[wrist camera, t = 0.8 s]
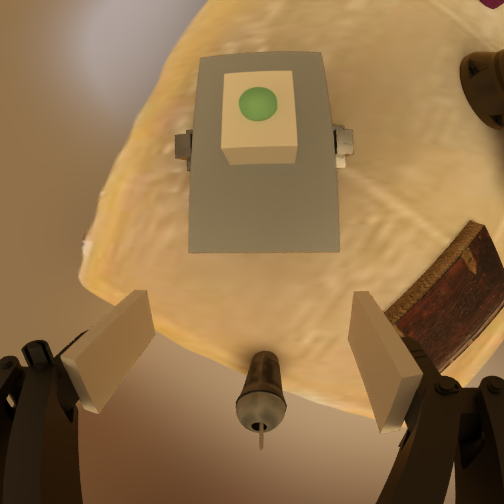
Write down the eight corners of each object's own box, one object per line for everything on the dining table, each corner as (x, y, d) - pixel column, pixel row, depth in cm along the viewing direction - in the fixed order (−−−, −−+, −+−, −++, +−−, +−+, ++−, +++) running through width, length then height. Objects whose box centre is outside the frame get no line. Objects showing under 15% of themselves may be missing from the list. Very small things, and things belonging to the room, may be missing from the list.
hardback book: (403, 384, 47) (411, 399, 42) (354, 336, 44) (361, 352, 40) (500, 287, 39) (514, 296, 35) (468, 220, 37) (484, 225, 32)
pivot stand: (189, 131, 38) (172, 124, 31) (341, 127, 36) (354, 118, 29) (194, 234, 42) (178, 245, 35) (342, 233, 40) (354, 244, 33)
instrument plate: (202, 67, 33) (187, 31, 25) (320, 62, 31) (327, 24, 23) (193, 253, 32) (165, 251, 24) (337, 252, 31) (356, 250, 23)
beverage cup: (237, 365, 47) (216, 454, 28) (257, 337, 45) (244, 429, 26) (272, 382, 48) (266, 471, 29) (294, 355, 46) (298, 448, 27)
